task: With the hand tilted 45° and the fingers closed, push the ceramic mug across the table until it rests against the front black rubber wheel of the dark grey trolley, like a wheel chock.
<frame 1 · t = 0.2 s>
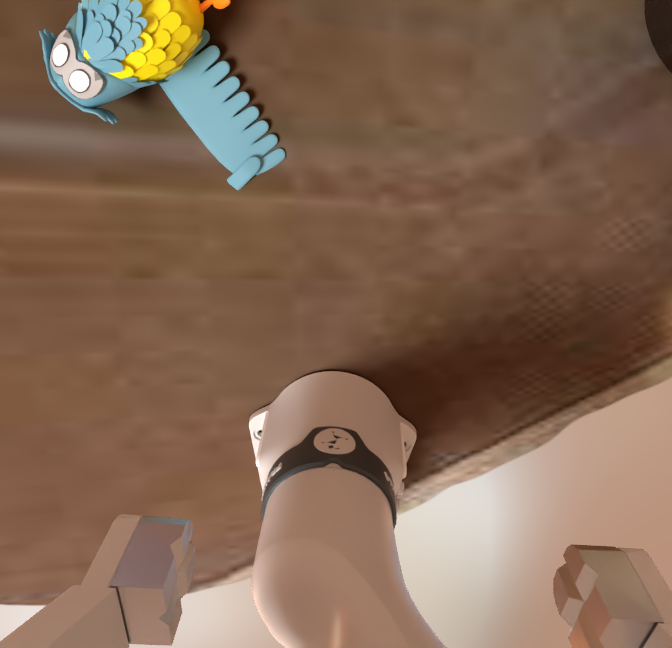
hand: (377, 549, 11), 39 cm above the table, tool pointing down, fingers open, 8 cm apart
owl figurine: (158, 40, 43), on the table
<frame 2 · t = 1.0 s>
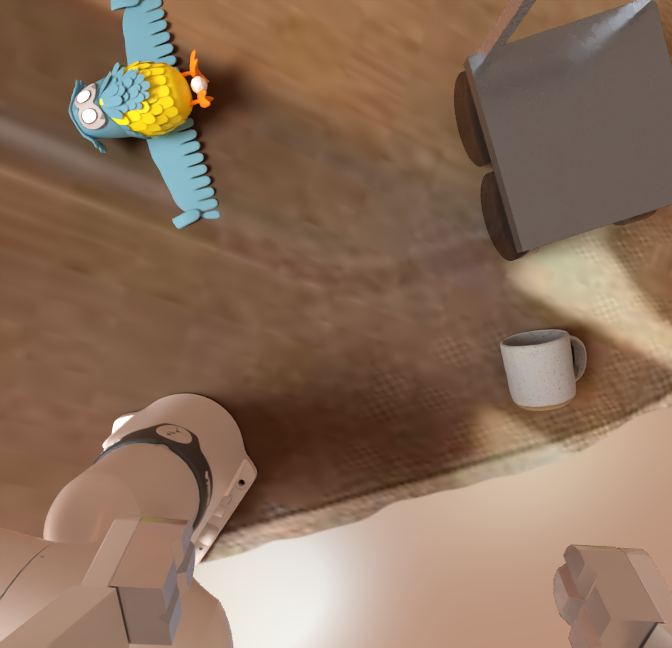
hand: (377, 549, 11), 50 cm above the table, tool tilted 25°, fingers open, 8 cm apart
ceramic mug: (536, 358, 62), on the table
trolley: (534, 159, 59), on the table
owl figurine: (158, 115, 60), on the table
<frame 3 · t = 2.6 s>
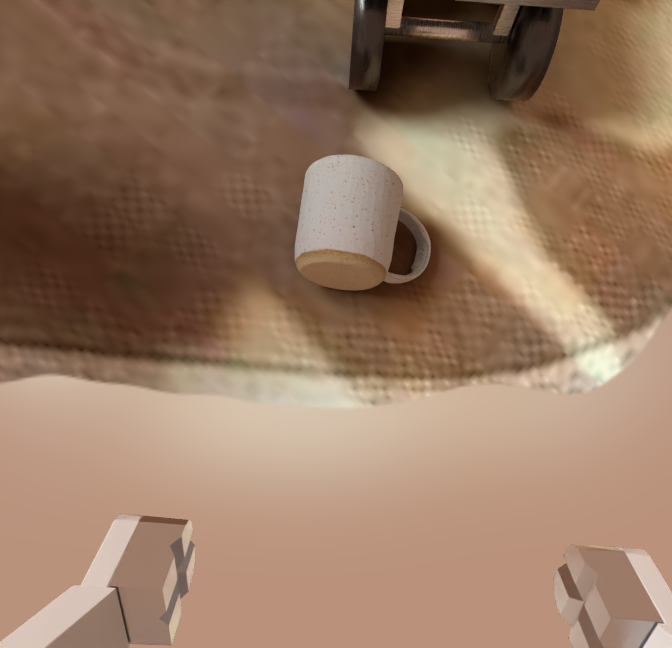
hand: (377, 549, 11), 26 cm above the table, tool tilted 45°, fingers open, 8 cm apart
ceramic mug: (361, 249, 41), on the table
trolley: (432, 29, 48), on the table
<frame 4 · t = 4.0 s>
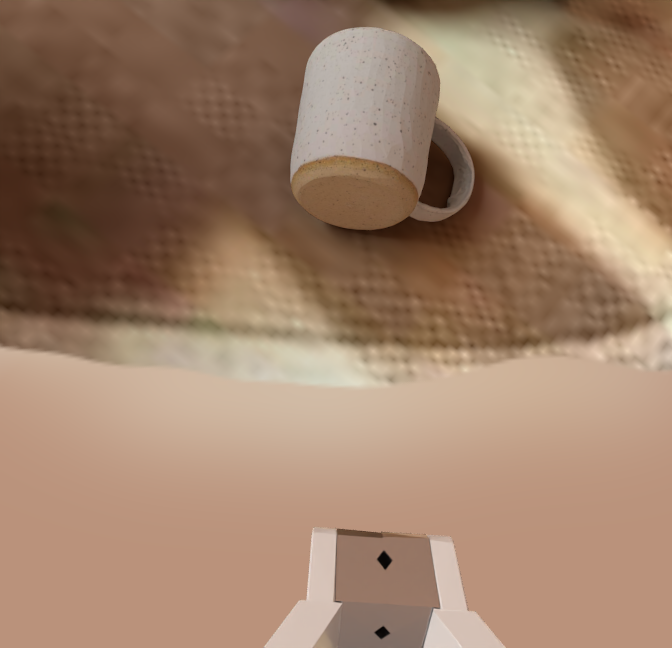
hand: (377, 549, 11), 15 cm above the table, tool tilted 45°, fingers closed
ceramic mug: (379, 179, 31), on the table
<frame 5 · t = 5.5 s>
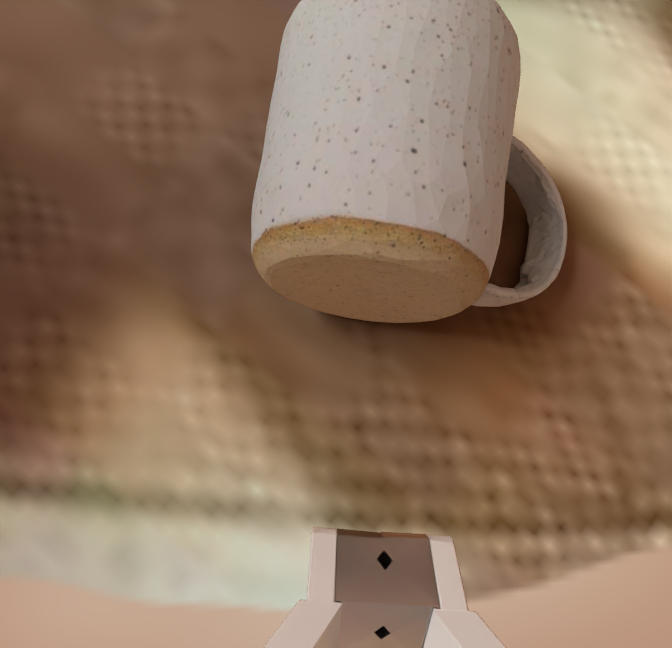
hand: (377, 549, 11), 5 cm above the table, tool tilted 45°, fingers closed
ceramic mug: (406, 229, 19), on the table
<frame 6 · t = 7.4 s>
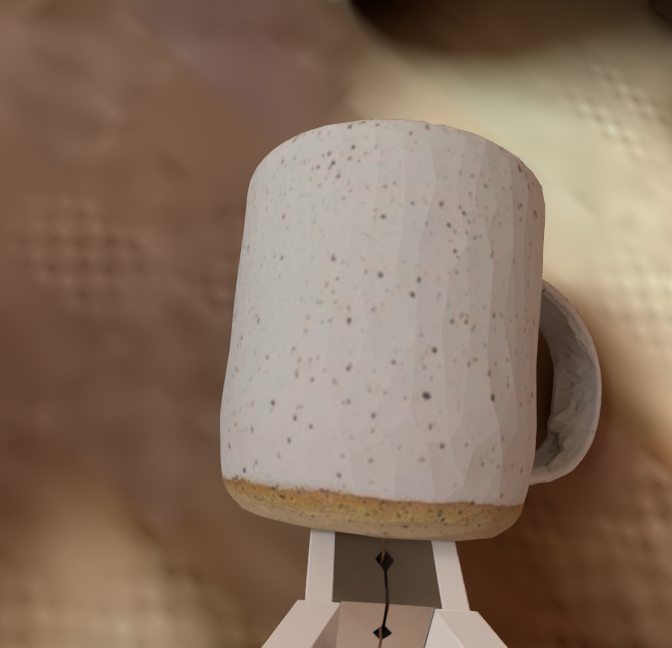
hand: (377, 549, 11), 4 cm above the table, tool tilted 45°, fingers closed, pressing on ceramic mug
ceramic mug: (408, 370, 16), on the table, touching gripper
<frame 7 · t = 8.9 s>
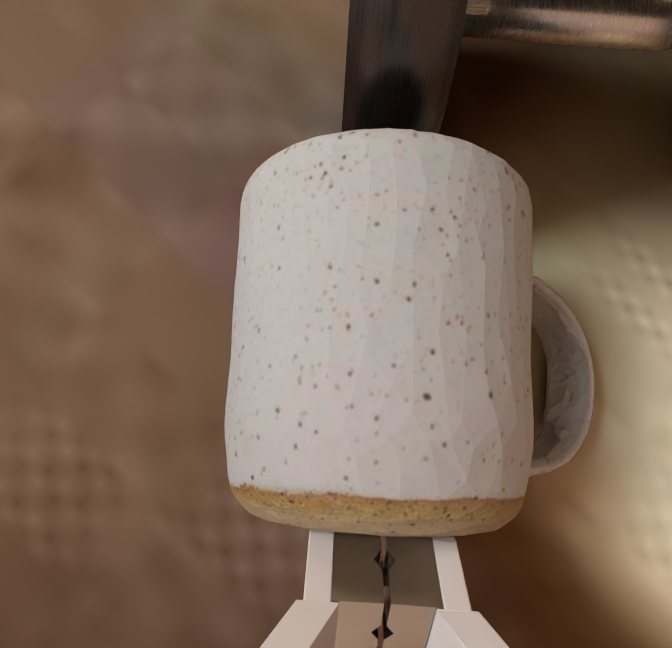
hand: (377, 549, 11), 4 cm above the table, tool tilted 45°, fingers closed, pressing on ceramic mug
ceramic mug: (405, 369, 17), on the table, touching gripper
trolley: (533, 21, 21), on the table
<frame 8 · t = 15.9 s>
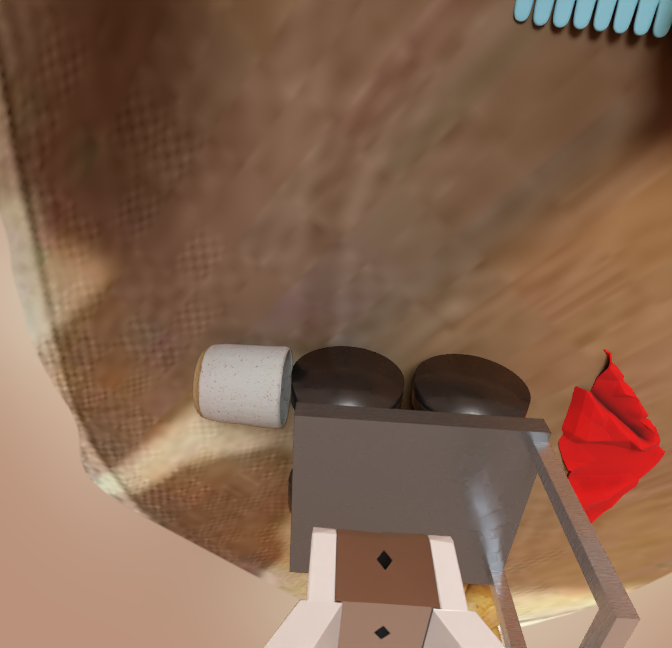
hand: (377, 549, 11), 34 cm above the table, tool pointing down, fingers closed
ceramic mug: (256, 373, 50), on the table
trolley: (394, 412, 52), on the table
cloth: (597, 447, 54), on the table
bread roll: (449, 582, 65), on the table
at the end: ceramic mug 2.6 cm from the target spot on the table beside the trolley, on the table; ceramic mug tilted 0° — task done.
